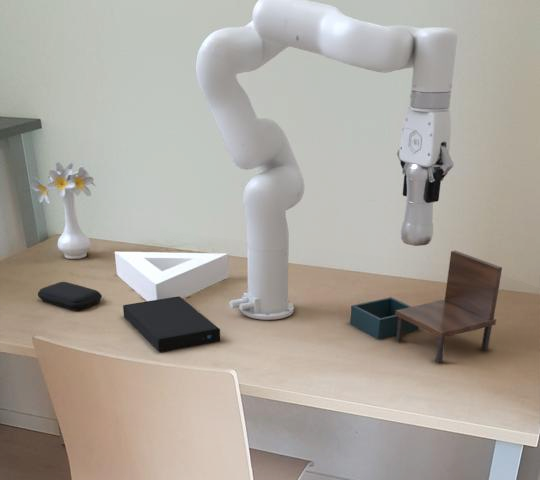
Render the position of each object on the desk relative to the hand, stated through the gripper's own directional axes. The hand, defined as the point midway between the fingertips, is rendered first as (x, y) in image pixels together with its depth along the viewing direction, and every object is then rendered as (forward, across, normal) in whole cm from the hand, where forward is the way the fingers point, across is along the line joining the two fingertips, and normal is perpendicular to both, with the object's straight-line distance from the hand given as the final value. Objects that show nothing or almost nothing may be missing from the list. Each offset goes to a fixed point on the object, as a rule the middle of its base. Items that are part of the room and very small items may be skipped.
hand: (420, 197), depth 160 cm
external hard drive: (+30, -30, -44) cm, 61 cm away
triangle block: (+29, -61, -34) cm, 76 cm away
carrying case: (+29, -59, -57) cm, 87 cm away
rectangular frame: (+30, -7, -1) cm, 30 cm away
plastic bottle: (+10, 0, 0) cm, 10 cm away
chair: (+30, +8, +3) cm, 31 cm away
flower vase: (+29, -94, -44) cm, 108 cm away
